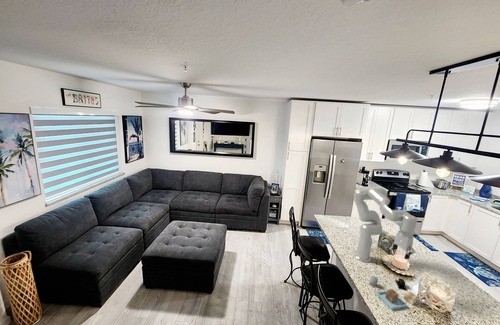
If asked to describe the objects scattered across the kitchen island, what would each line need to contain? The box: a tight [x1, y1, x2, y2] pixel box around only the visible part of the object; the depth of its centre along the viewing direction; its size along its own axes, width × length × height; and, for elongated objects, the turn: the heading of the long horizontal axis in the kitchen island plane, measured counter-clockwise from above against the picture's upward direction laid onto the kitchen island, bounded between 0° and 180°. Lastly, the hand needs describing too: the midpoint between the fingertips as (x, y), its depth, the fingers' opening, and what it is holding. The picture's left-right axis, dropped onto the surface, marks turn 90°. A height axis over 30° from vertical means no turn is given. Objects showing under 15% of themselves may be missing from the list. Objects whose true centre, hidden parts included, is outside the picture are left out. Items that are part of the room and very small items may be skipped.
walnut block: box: [385, 288, 399, 303], centre depth 136 cm, size 4×4×6 cm
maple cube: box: [403, 290, 418, 305], centre depth 137 cm, size 5×5×5 cm
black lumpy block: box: [394, 277, 409, 292], centre depth 150 cm, size 12×7×5 cm, turn 159°
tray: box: [375, 290, 408, 311], centre depth 136 cm, size 12×12×2 cm
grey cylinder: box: [369, 275, 379, 288], centre depth 149 cm, size 4×4×5 cm
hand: (400, 254), depth 145 cm, fingers open, 9 cm apart
